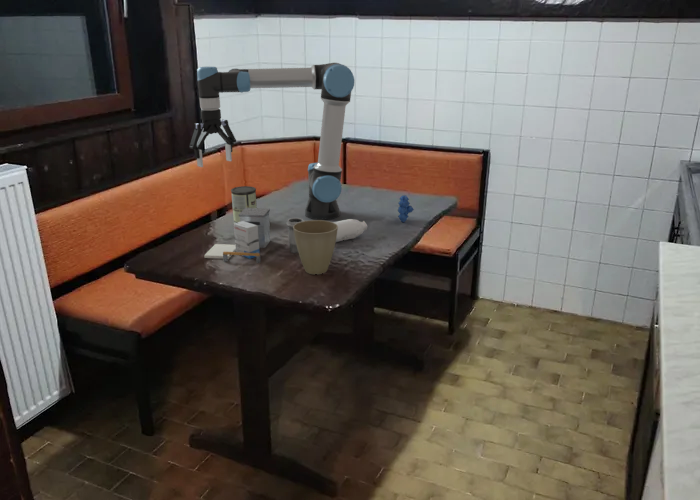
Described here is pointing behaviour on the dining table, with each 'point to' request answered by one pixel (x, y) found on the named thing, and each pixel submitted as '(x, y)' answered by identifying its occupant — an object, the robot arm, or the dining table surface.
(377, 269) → the dining table surface
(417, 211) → the dining table surface
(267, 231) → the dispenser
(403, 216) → the grapes
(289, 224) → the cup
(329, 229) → the plant pot
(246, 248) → the ink box
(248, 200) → the coffee can
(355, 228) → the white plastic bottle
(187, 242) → the dining table surface
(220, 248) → the tile
